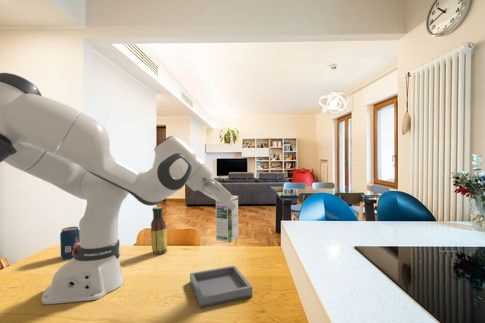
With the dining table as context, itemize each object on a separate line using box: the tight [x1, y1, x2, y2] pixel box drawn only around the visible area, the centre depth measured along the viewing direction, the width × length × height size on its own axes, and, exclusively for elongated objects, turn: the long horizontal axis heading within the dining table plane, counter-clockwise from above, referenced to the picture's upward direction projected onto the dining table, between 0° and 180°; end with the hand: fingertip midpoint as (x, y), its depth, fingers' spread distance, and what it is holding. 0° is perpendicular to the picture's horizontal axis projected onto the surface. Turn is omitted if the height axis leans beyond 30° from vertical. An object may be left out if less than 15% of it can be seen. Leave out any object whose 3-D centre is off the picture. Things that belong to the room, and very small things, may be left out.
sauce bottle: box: [150, 206, 168, 255], centre depth 113 cm, size 7×6×20 cm
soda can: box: [59, 226, 80, 260], centre depth 109 cm, size 7×7×12 cm
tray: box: [189, 265, 253, 309], centre depth 83 cm, size 16×16×3 cm
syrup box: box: [215, 195, 239, 244], centre depth 87 cm, size 6×6×14 cm
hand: (228, 205), depth 87 cm, fingers closed on syrup box, 8 cm apart
